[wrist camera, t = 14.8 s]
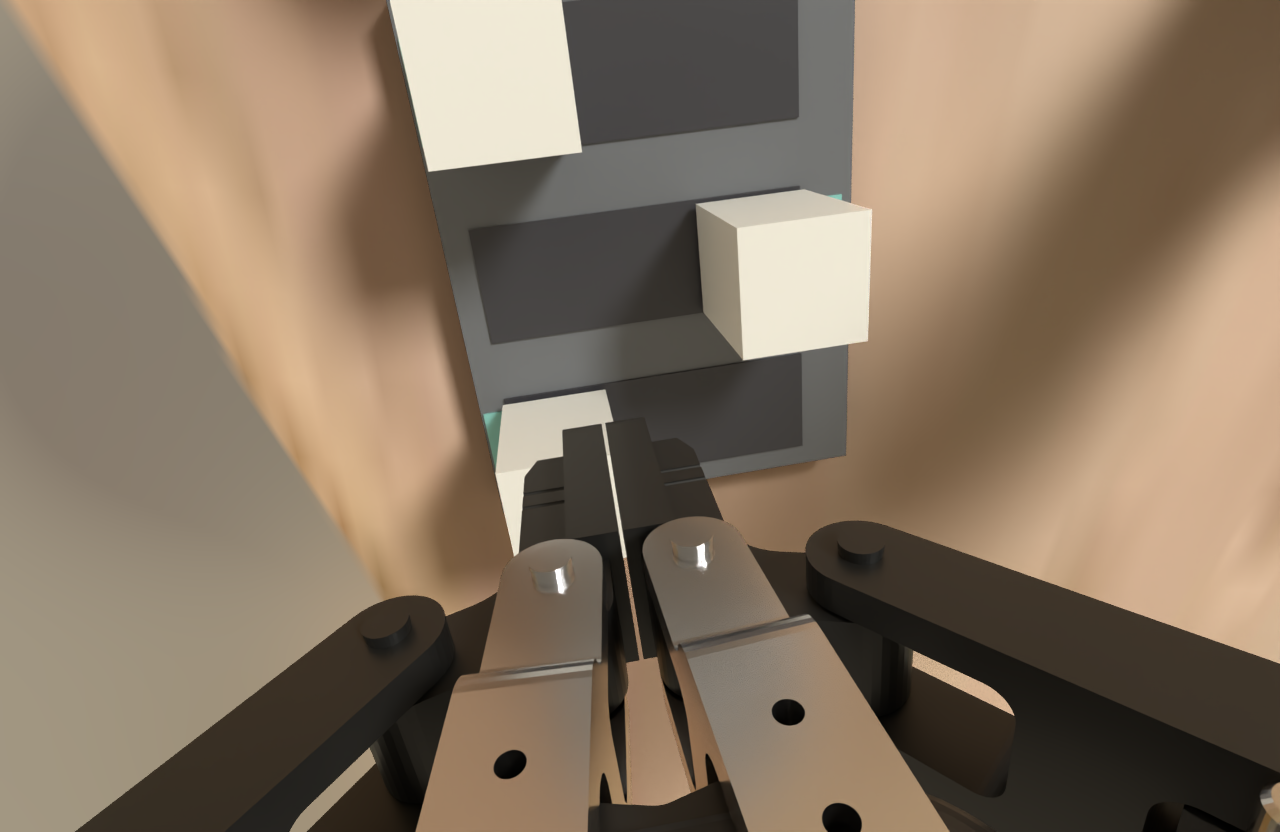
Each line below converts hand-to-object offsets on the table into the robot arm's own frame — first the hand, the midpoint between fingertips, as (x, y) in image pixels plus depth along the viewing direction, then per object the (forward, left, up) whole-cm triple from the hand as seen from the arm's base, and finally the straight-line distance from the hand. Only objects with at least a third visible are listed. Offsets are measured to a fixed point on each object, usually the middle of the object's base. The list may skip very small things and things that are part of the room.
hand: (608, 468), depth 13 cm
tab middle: (-7, 0, -14) cm, 15 cm away
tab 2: (+1, +6, -14) cm, 15 cm away
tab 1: (+1, -7, -14) cm, 15 cm away
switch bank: (-3, 0, -16) cm, 16 cm away
